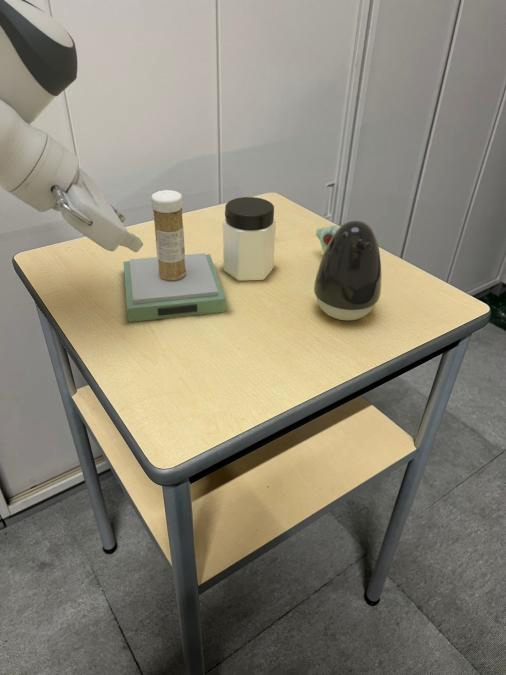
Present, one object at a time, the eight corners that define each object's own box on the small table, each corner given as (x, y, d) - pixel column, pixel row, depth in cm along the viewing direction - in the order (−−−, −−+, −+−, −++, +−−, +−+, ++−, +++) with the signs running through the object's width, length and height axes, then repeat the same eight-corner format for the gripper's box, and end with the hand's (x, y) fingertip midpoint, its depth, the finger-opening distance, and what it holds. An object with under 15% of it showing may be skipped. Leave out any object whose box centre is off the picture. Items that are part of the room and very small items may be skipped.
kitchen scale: (128, 323, 78) (126, 305, 76) (125, 274, 90) (122, 257, 88) (226, 312, 81) (226, 295, 79) (210, 266, 93) (209, 249, 91)
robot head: (355, 261, 96) (360, 227, 92) (345, 270, 93) (350, 235, 89) (317, 249, 100) (321, 216, 96) (306, 257, 97) (310, 223, 93)
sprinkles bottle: (165, 266, 86) (159, 187, 78) (191, 270, 85) (187, 191, 77) (153, 279, 83) (145, 197, 75) (179, 284, 82) (174, 202, 74)
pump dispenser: (321, 332, 78) (333, 240, 69) (304, 296, 86) (313, 209, 77) (386, 327, 79) (406, 236, 70) (363, 292, 87) (378, 206, 78)
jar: (237, 254, 97) (238, 192, 90) (278, 263, 95) (282, 200, 88) (216, 276, 90) (215, 211, 83) (259, 286, 88) (262, 220, 81)
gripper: (77, 183, 59) (165, 246, 68) (48, 135, 73) (125, 192, 83) (44, 226, 60) (136, 282, 69) (23, 171, 74) (101, 223, 84)
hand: (130, 233), depth 76 cm, fingers open, 8 cm apart
